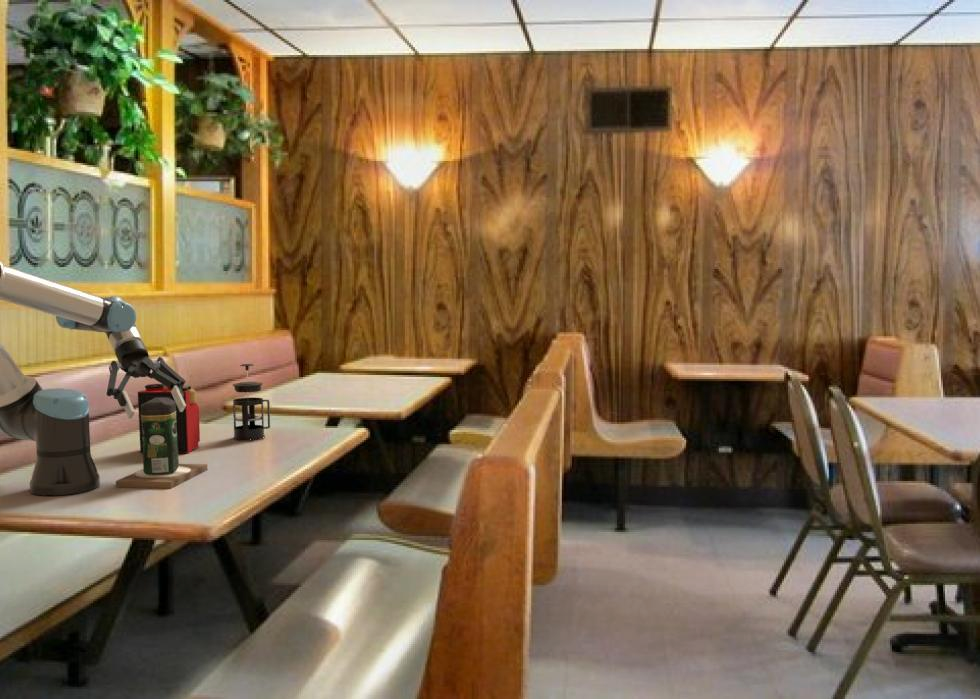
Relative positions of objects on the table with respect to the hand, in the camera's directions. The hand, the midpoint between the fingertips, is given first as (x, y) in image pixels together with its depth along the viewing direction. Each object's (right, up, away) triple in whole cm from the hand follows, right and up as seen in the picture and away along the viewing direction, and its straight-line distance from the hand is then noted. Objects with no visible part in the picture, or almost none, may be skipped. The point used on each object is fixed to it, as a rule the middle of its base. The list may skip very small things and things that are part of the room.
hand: (158, 411), depth 229 cm
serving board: (+2, -16, -2) cm, 17 cm away
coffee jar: (+2, -15, -2) cm, 15 cm away
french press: (+10, -12, +52) cm, 54 cm away
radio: (-9, -14, +34) cm, 37 cm away
